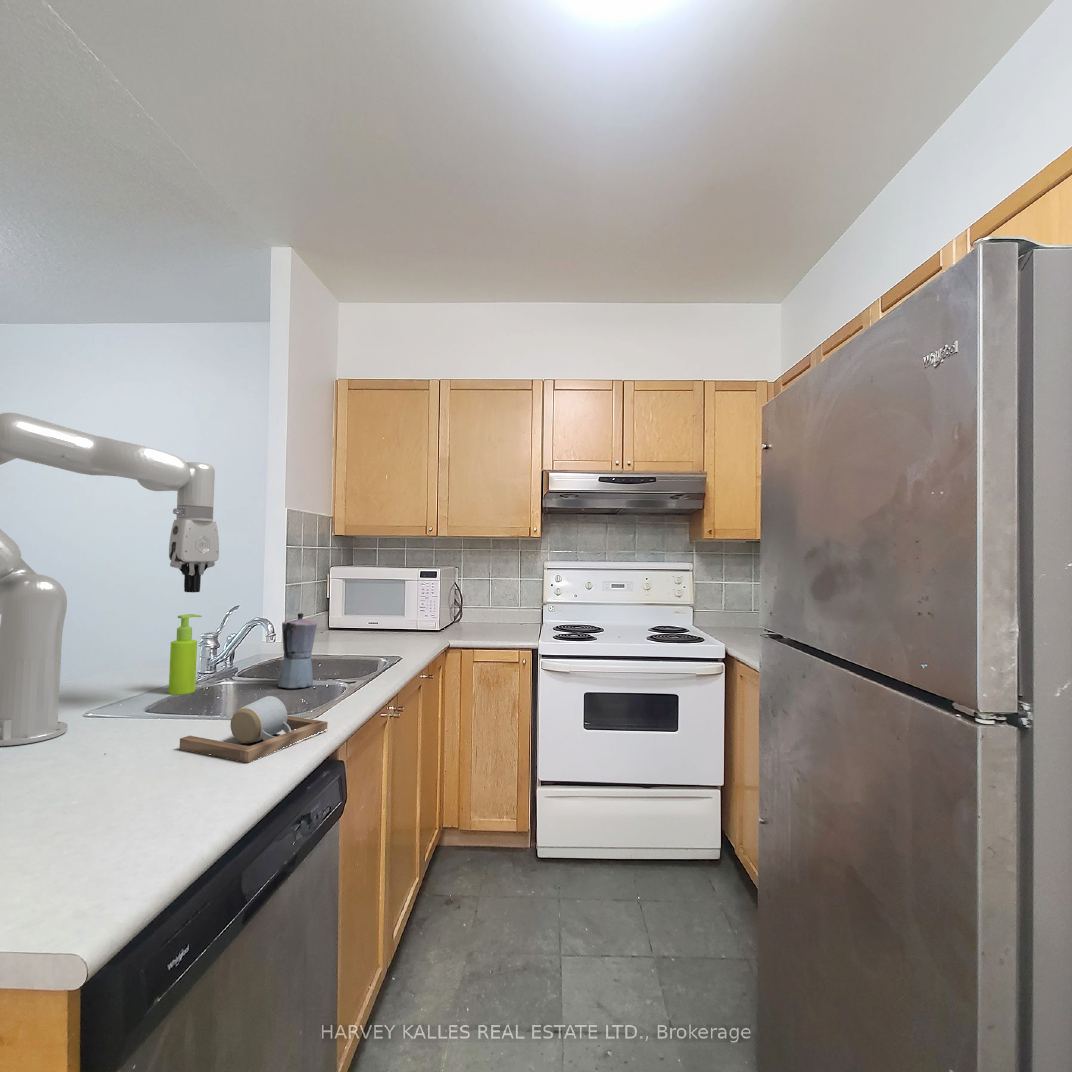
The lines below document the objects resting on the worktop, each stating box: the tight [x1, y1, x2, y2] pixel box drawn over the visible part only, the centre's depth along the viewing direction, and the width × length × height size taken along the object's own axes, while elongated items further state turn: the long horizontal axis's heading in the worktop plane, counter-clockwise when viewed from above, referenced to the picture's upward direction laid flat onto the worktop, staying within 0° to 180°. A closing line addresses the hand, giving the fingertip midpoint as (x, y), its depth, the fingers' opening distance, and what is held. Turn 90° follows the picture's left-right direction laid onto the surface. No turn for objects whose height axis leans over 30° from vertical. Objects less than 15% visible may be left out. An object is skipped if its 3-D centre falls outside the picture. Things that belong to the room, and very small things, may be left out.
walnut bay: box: [179, 715, 328, 763], centre depth 114 cm, size 20×17×2 cm
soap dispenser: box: [168, 613, 203, 696], centre depth 151 cm, size 6×7×20 cm
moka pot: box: [277, 612, 318, 689], centre depth 159 cm, size 10×15×20 cm, turn 2°
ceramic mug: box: [230, 695, 292, 745], centre depth 114 cm, size 11×8×8 cm
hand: (192, 591), depth 137 cm, fingers closed
